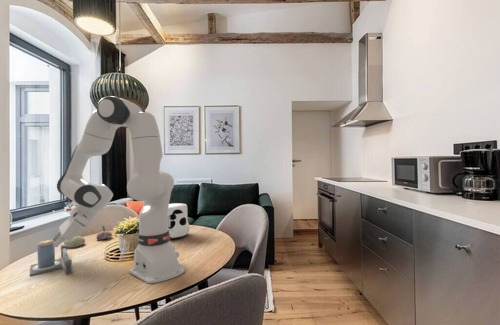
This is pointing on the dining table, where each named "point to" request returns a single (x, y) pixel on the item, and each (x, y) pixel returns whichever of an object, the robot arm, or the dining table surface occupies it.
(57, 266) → the resting mat
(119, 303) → the dining table surface
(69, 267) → the dark grey flat bar
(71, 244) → the sea urchin shell
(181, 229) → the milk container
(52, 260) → the ceramic jar
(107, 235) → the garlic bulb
